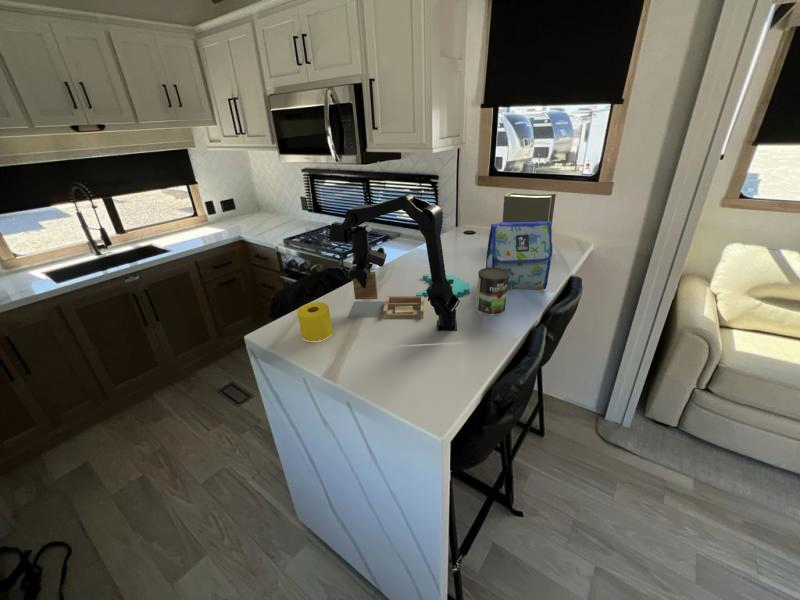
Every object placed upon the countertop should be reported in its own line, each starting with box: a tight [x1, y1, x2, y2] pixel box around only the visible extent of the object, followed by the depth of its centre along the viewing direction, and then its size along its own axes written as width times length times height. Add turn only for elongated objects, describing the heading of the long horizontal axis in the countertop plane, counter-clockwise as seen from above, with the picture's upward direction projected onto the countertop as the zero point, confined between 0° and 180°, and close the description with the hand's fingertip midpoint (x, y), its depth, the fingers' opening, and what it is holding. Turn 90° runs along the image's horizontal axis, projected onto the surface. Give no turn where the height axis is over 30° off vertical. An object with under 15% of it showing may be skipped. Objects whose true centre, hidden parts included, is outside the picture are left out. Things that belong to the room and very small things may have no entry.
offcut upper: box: [394, 306, 414, 314], centre depth 127 cm, size 4×6×1 cm, turn 91°
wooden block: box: [352, 271, 378, 300], centre depth 126 cm, size 2×8×10 cm, turn 85°
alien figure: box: [415, 273, 471, 298], centre depth 143 cm, size 20×2×20 cm
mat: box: [347, 300, 386, 319], centre depth 130 cm, size 12×12×1 cm
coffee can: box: [475, 267, 509, 317], centre depth 124 cm, size 10×10×14 cm
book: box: [502, 192, 557, 226], centre depth 170 cm, size 22×9×28 cm, turn 55°
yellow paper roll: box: [296, 301, 334, 341], centre depth 115 cm, size 10×10×9 cm
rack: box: [382, 295, 425, 319], centre depth 128 cm, size 11×14×3 cm
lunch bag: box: [485, 221, 553, 291], centre depth 136 cm, size 22×17×26 cm
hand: (364, 286), depth 126 cm, fingers closed on wooden block, 2 cm apart
